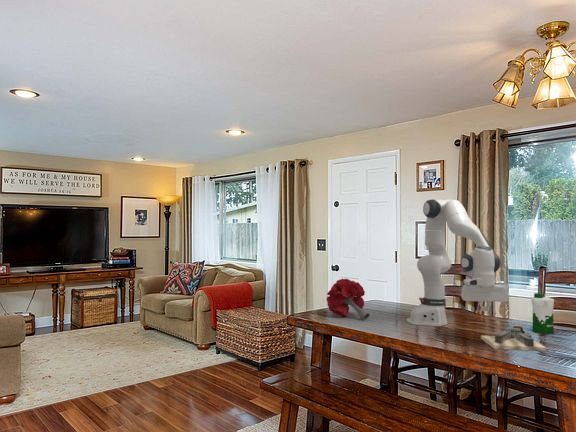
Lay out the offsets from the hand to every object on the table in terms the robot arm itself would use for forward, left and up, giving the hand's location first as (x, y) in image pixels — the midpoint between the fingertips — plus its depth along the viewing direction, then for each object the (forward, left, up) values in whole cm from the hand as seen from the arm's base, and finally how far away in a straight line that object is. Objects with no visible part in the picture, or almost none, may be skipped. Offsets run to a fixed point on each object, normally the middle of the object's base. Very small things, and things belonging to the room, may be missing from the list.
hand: (484, 310), depth 194 cm
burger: (+22, +19, -16) cm, 33 cm away
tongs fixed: (+16, +2, -14) cm, 21 cm away
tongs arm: (+9, +3, -14) cm, 17 cm away
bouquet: (-62, +52, -16) cm, 83 cm away
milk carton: (+39, +30, -16) cm, 52 cm away
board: (+13, +3, -16) cm, 20 cm away
